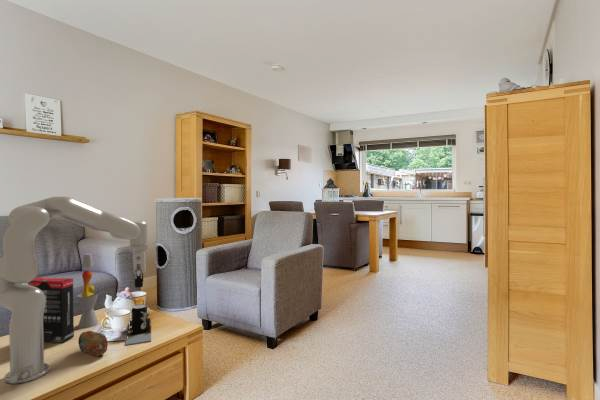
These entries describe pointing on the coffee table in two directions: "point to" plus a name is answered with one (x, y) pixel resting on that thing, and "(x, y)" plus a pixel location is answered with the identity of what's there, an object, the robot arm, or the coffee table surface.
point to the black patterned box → (147, 324)
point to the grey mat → (138, 339)
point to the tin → (92, 343)
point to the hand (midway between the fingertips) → (139, 284)
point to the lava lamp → (87, 296)
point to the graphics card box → (57, 308)
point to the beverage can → (139, 319)
